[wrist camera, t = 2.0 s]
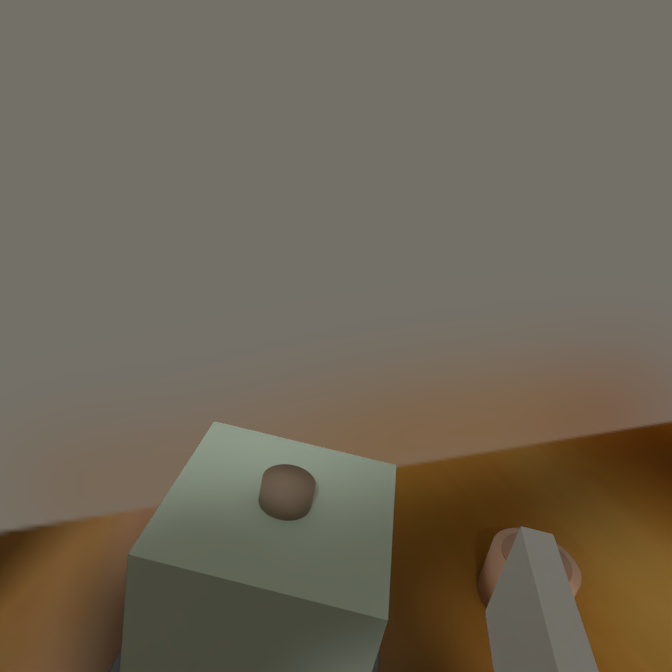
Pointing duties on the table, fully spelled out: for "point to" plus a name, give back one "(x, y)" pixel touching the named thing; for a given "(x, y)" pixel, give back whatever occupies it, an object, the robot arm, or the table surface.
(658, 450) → the table surface
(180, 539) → the sage green cube
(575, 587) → the bowl
